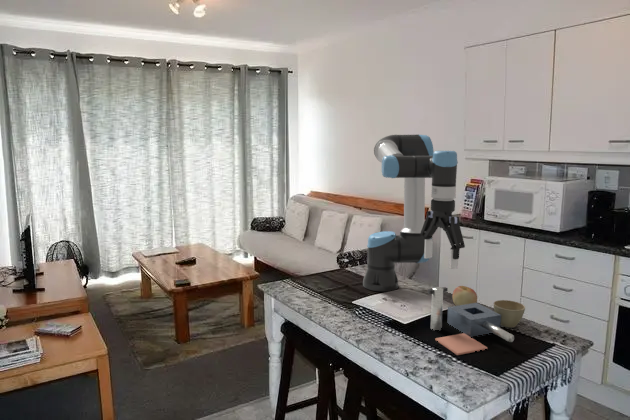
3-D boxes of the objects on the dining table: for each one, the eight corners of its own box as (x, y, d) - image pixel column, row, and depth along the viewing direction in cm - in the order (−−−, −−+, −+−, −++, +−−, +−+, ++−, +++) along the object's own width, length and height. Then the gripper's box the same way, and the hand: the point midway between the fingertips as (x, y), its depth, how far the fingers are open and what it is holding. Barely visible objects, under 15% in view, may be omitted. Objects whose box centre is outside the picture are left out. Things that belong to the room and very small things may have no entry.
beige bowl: (526, 332, 152) (528, 311, 151) (495, 329, 154) (496, 309, 153) (520, 320, 162) (521, 300, 161) (490, 318, 164) (491, 298, 163)
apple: (453, 302, 179) (454, 282, 178) (477, 306, 176) (479, 286, 174) (450, 310, 172) (451, 289, 170) (475, 314, 168) (476, 293, 167)
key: (423, 327, 156) (425, 288, 153) (441, 324, 158) (443, 285, 156) (430, 332, 152) (431, 291, 150) (447, 329, 155) (449, 288, 153)
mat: (435, 340, 146) (435, 338, 146) (463, 334, 150) (463, 333, 150) (457, 355, 136) (457, 353, 136) (487, 349, 140) (487, 347, 140)
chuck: (447, 323, 159) (447, 307, 158) (475, 318, 163) (476, 302, 162) (494, 352, 138) (495, 333, 137) (525, 346, 142) (527, 327, 141)
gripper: (411, 195, 158) (409, 255, 162) (458, 205, 135) (455, 274, 139) (429, 194, 161) (427, 253, 164) (479, 203, 138) (475, 272, 142)
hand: (440, 263), depth 152 cm, fingers open, 13 cm apart
